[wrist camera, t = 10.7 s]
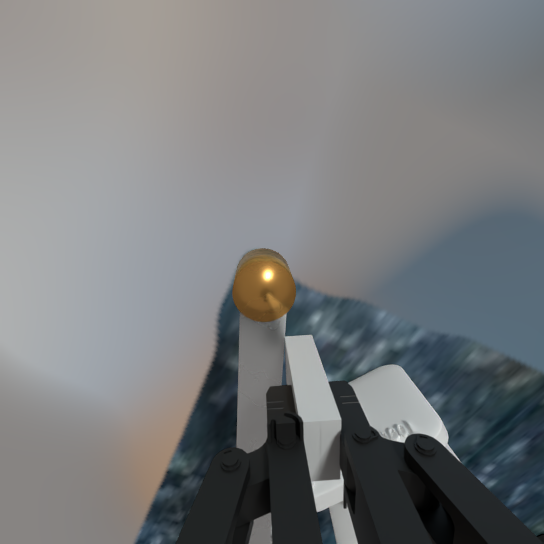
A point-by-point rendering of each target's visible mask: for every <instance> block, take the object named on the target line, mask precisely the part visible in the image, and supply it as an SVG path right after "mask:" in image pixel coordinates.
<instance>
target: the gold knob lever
mask: <svg viewBox="0 0 544 544" xmlns="http://www.w3.org/2000/svg"><path fill="white" fill-rule="evenodd" d="M295 296H296V287H295V283H294V280H293V278H292V275H291V272H290V269H289V267H288V264H287V262H286V260H285V259H284V258H283V257H282V256H281V255H280V254H279V253H277V252H276V251H273V250H270V249H265V248H261V249H255V250H253V251H250V252H249V253H247V254H246V255H244V257H243V258H242V259H241V260H240V262H239V264H238V266H237V270H236V275H235V280H234V285H233V300H234V303H235V305H236V307H237V308H238V310H239V311H240V333H239V371H238V408H237V446H236V448H239V449H243V450H244V451H245V452H246V453H250V452H253V451H255V450H257V449H259V448H260V447H261V446H262V445H263V444H264V443H265V442H266V439H267V406H266V393H267V391H268V389H269V387H270V386H281V383H282V369H283V354H284V340H285V326H286V313H287V312H288V311H289V310H290V308H291V307H292V305H293V303H294V300H295ZM249 544H272V525H271V513H268V514H266V515H264V516H262V517H259V518H257V519H255V520H254V524H253V528H252V532H251V536H250V541H249Z"/></svg>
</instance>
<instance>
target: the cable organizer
mask: <svg viewBox="0 0 544 544" xmlns="http://www.w3.org/2000/svg"><path fill="white" fill-rule="evenodd" d="M348 384H349V385H351V386H352V387H353V390H354V392H355V394H356V396H357V398H358V400H359V403H360V405H361V407H362V409H363V411H364V413H365V416H366V418H367V420H368V422H369V424H370V426H372V427H373V428H374V429H376V430H377V431H378V432H379V434H380V435H381V437H383V438H386V439H389V440H392V441H398V442H403V443H405V440H406V438H407V437H408V436H409V435H411V434H417V433H420V434H425V435H428V436H431V437H433V438H435V439H436V440H437V441H439V442H440V443H441V444H442V445H443V446H444V447H445V448H446V449H447V450H448V451H449V452H450V453H452V454H453V455H454V456H455V457H456V458H457V456H456V455H455V454H454V452H453V451H452V449H451V448H450V447H449V445H448V444H447V442H448V432H447V430H446V428H445V426H444V424H443V422H442V420H441V419H440V417H439V416H438V414H437V413H436V412H435V410H434V409H433V408H432V406H431V405H430V404H429V403H428V401H427V400H426V399H425V397H424V396H423V395H422V393H421V392H420V391H419V390H418V388H417V387H416V386H415V384H414V383H413V382H412V380H411V379H410V378H409V376H408V375H407V374H406V373H405V371H404V370H403V369H402V368H401V367H400V366H398V365H385V366H381V367H379V368H376V369H374V370H372V371H370V372H368V373H366V374H365V375H363V376H361V377H359V378H357V379H355V380H353V381H351V382H349V383H348ZM457 459H458V458H457ZM458 460H459V459H458ZM311 483H312V489H313V494H314V500H315V505H316V511H317V512H319V511H322V510H324V509H326V508H329V510H330V515H331V519H332V524H333V528H334V533H335V537H336V542H337V544H358V542H357V539H356V535H355V531H354V528H353V524H352V521H351V517H350V513H349V510H348V506H347V509H344V508H343V488H344V479H343V476H342V472H341V471H340V479H338V480H325V481H311Z"/></svg>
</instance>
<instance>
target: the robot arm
mask: <svg viewBox="0 0 544 544" xmlns="http://www.w3.org/2000/svg"><path fill="white" fill-rule="evenodd" d="M285 359H286V381H287V385H282V386H270V387H269V389H268V391H267V393H266V406H267V439H266V442H265V443H264V444H263V445H262V446H261V447H260V448H259V449H257V450H255V451H253V452H250V453H246V452H245V451H244V450H243V449H239V448H227V449H224V450H222V451H220V452H219V453H218V454H216V456H215V457H214V459H213V460H212V462H211V465H210V467H209V469H208V471H207V474H206V476H205V478H204V480H203V483H202V485H201V487H200V489H199V492H198V494H197V496H196V499H195V501H194V503H193V505H192V508H191V510H190V512H189V514H188V517H187V519H186V521H185V523H184V526H183V528H182V530H181V533H180V535H179V537H178V539H177V542H176V544H249V541H250V536H251V532H252V528H253V524H254V520H255V519H257V518H259V517H262V516H264V515H266V514H268V513H271V525H272V544H322V538H321V533H320V527H319V522H318V516H317V511H316V505H315V500H314V494H313V489H312V483H311V481H325V480H338V479H340V471H341V472H342V476H343V479H344V488H343V508H344V509H347V506H348V510H349V513H350V517H351V521H352V524H353V528H354V531H355V535H356V539H357V542H358V544H544V535H541V536H539V537H537V536H535V535H534V534H533V533H532V532H531V531H530V530H529V529H528V528H527V527H526V526H525V525H524V524H523V523H522V522H521V521H520V520H519V519H518V518H517V517H516V516H515V515H514V514H513V513H512V512H511V511H510V510H509V509H508V508H507V507H506V506H505V505H504V504H503V503H502V502H501V501H500V500H499V499H498V498H497V497H496V496H495V495H494V494H492V493H491V492H490V491H489V490H488V489H487V488H486V487H485V486H484V485H483V484H482V483H481V482H480V481H479V480H478V479H477V478H476V477H475V476H474V475H473V474H472V473H471V472H470V471H469V470H468V469H467V468H466V467H465V466H464V465H463V464H462V463H461V462H460V461H459V460H458V459H457V458H456V457H455V456H454V455H453V454H452V453H450V452H449V451H448V450H447V449H446V448H445V447H444V446H443V445H442V444H441V443H440V442H439V441H437V440H436V439H435V438H433V437H431V436H428V435H425V434H420V433H417V434H411V435H409V436H408V437H407V438H406V440H405V443H403V442H398V441H392V440H389V439H386V438H383V437H381V435H380V434H379V432H378V431H377V430H376V429H374V428H373V427H372V426H370V424H369V422H368V420H367V418H366V416H365V413H364V411H363V409H362V407H361V405H360V403H359V400H358V398H357V396H356V394H355V392H354V390H353V387H352V386H351V385H349V384H348V383H347V382H346V381H332V382H328V380H327V377H326V374H325V371H324V369H323V366H322V363H321V360H320V357H319V354H318V352H317V349H316V346H315V343H314V340H313V337H312V335H303V336H287V337H285Z"/></svg>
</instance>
